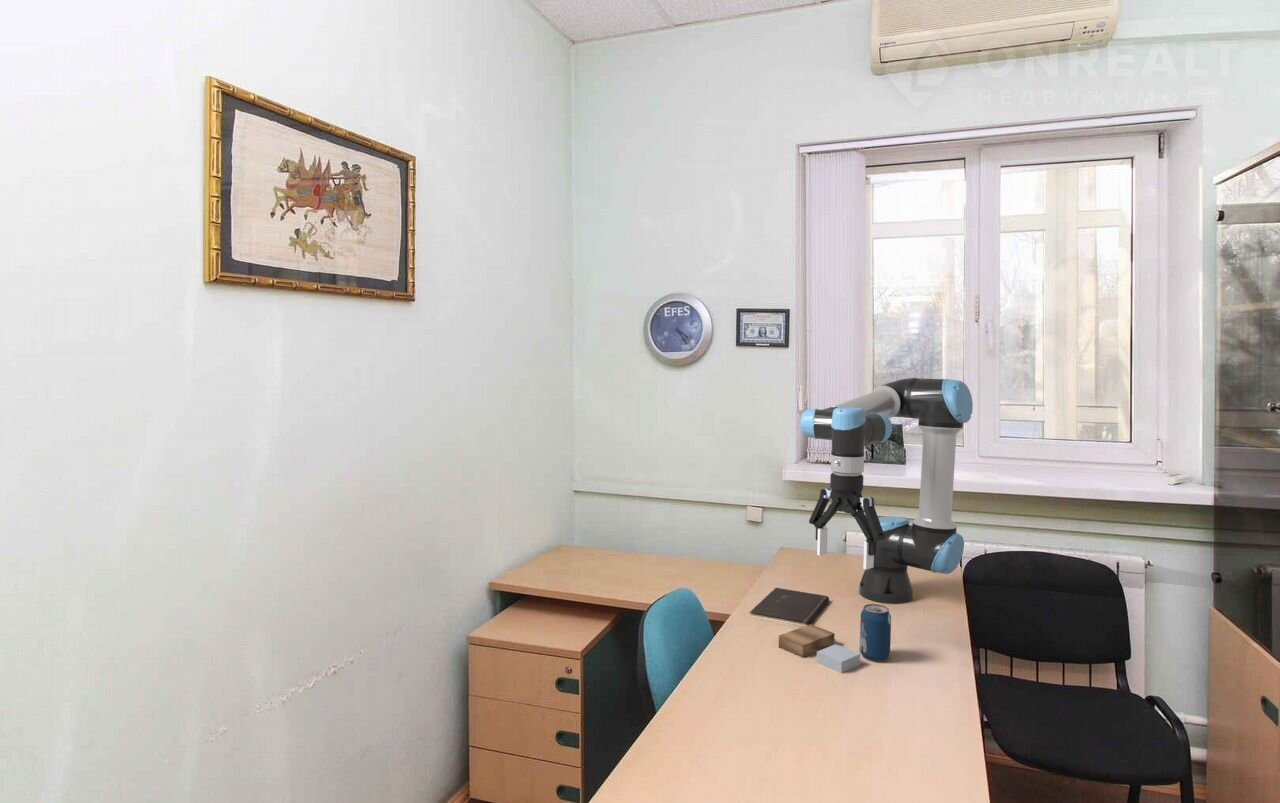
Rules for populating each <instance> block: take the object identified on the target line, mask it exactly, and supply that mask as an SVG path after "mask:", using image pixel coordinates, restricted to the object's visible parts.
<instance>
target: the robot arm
mask: <svg viewBox="0 0 1280 803" xmlns="http://www.w3.org/2000/svg"><path fill="white" fill-rule="evenodd" d="M973 407H974V406H973V397H972V394H971V390H970V389H969V387H968V385H967V384H966V383H965V382H963V380H959V379H958V380H955V379H949V378H943V379H942V378H923V377H922V378H917V377H908V378H902V379H899V380H894V381H891V382H888V383H885V384H882V385H877V387H875V388H874V389H873V390H871V392H869V393H867V394H864V395H861V396H859V397H856V398H853V399H850V400H847V401H844V402H842V403H838V404H835V405H833V406H830V407H827V408H823V409H818V408H809V409H806V410H804V412H803V413H802V414H801V417H800V420H799V424H800V431H801V433H802V435H803V436H804V437H806V438H811V439H814V440H825V441H827V440H828V441H831V453H830V456H831V457H830V471H831V473H830V478H829V479H830V481H829V482H830V484H829V488H823V489H820V491H819V498H818V500H817V503H816V504H815V507H814V508H813V511H812V513H811V515H810V517H809V520H808V523H809V524H810V525H813V526H814V527H815V541H817V545H816V546H817V547H816V548H817V550H816V551H817V552H816V554H817V556H819V557H820V556H824V555H827V554H828V527H827V524H828V523H829V522H830V520H831V519H832V518H833V517H834V516H835V514H836V513H837V512H839V513H840V512H841V513H842V512H843V513H846V514H850V515H851V516H852V517H853V518H854V520H855V521H856V523H857V525H858V526H859V528H860V530H861V531H862V533H863V534H864V537H865V539H866V540H864V541H863V567H862V569H863V570H864V572H863V574H862V576H861V579H860V582H859V586H858V587H859V588H858V592H859V595H860V596H862V597H863V598H865V599H868V600H870V601H874V602H879V603H884V604H902V603H903V604H905V603H907V602H910V601H912V600H913V594H914V590H913V586H912V584H911V580H910V577H909V573H908V567H912V568H917V569H919V570H920V569H921V570H925V571H929V572H931V573H934V574H936V573H939V574H944V575H948V574H951V573H953V572H954V571H955V570H956V569H957V567H958V565H960V563H961V560H962V557H963V553H964V549H965V540H964V537H963V536H962V535H961V534H960V533H957V528H958V525H957V524H956V523H955V522H954V521H953V520H952V511H953V496H954V495H953V494H954V480H955V479H954V478H955V464H956V462H955V461H956V451H957V450H956V449H957V435H958V434H959V433H960V432H961V431H962V430H963V429H964V428H963V426H964V424H967V423H968V422H969V421H970V420H971V418H972V414H973ZM892 418H906V419H915V420H916V419H917V420H918V422H917V423H918V428H920V430H921V431H922V432H923V435H922V436H923V437H922V454H921V455H922V456H921V470H920V471H921V472H920V489H919V505H918V506H919V507H918V515H917V517H915V518H914V519H913V520H912V525H911V524H910V520H909V518H907V517H903V516H881V517H878V514H877V510H876V508H875V499H874V497H872V496H871V497H863V495H862V492H863V490H864V475H863V474H862V473H864V471H865V446H869V445H878V444H880V443H883V442H885V441H887V440H888V439H889V438H890V437H891V435H892V432H893V424H892V422H891V419H892ZM830 499H831V501H832V502H831V503H829V501H830ZM828 504H829V505H828ZM827 506H828V507H827ZM826 508H827V509H826Z"/></svg>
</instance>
